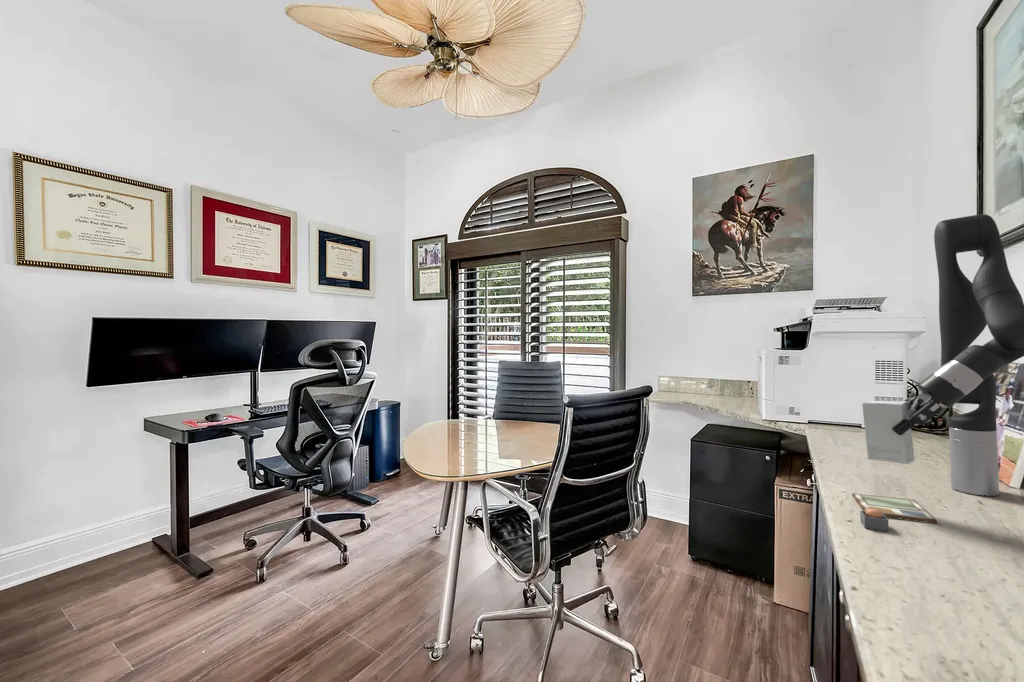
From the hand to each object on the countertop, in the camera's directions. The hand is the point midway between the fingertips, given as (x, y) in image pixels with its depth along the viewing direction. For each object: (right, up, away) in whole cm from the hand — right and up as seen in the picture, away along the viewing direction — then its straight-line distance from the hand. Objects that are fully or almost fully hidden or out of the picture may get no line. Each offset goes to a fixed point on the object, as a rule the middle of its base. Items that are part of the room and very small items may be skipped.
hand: (890, 429), depth 112 cm
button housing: (-13, -20, -11) cm, 26 cm away
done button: (-13, -18, -11) cm, 25 cm away
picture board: (0, -20, 0) cm, 20 cm away
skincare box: (0, -8, 0) cm, 8 cm away
